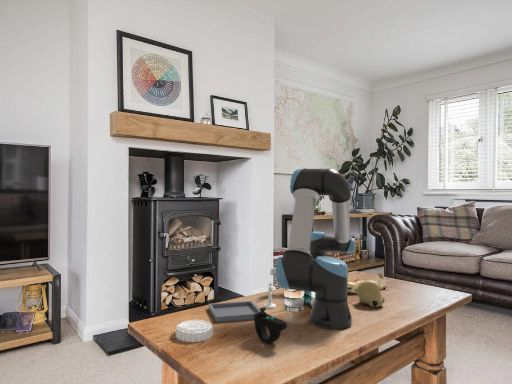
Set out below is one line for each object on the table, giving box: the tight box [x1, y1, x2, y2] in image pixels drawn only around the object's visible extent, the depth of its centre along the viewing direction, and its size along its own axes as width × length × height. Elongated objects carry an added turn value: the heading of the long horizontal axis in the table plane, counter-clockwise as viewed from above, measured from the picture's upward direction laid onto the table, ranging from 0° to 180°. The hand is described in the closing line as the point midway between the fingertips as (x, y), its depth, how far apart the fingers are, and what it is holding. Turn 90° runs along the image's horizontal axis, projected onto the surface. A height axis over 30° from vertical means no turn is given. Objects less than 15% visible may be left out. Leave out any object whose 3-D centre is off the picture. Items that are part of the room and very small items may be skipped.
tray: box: [208, 300, 261, 324], centre depth 142 cm, size 16×18×2 cm
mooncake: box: [175, 319, 214, 343], centre depth 120 cm, size 12×12×4 cm
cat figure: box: [347, 272, 388, 294], centre depth 180 cm, size 10×9×25 cm
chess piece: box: [263, 281, 277, 309], centre depth 151 cm, size 5×5×10 cm
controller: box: [253, 307, 288, 344], centre depth 115 cm, size 4×12×10 cm, turn 43°
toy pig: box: [355, 279, 385, 308], centre depth 157 cm, size 10×12×11 cm
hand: (283, 274), depth 160 cm, fingers open, 13 cm apart
